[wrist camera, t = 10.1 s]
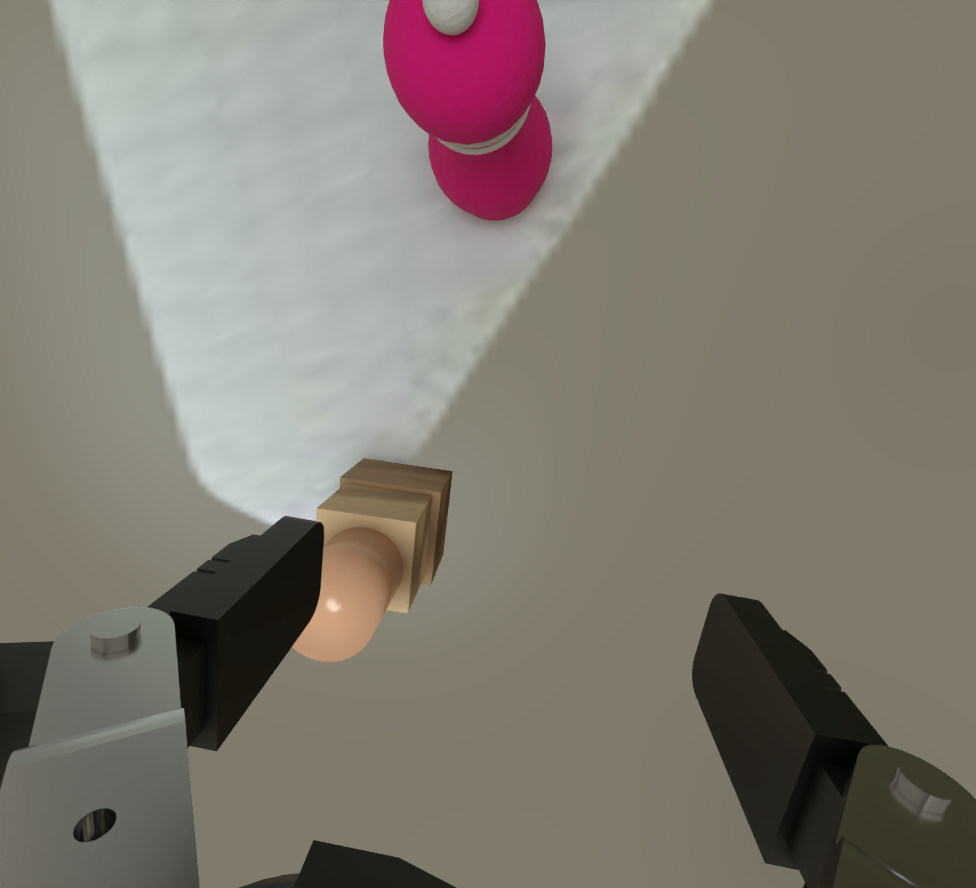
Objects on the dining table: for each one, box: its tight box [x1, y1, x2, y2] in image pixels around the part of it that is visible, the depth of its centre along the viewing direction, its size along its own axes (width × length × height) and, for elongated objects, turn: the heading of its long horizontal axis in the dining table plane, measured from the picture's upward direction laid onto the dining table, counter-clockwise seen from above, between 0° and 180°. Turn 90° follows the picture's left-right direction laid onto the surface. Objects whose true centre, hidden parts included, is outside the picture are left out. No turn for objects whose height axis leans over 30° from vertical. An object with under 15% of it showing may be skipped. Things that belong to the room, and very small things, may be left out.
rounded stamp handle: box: [292, 527, 403, 662], centre depth 28 cm, size 5×5×6 cm
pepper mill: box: [383, 0, 552, 220], centre depth 25 cm, size 7×7×20 cm
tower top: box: [316, 483, 432, 613], centre depth 34 cm, size 6×6×5 cm
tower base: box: [340, 459, 452, 585], centre depth 39 cm, size 7×7×5 cm
